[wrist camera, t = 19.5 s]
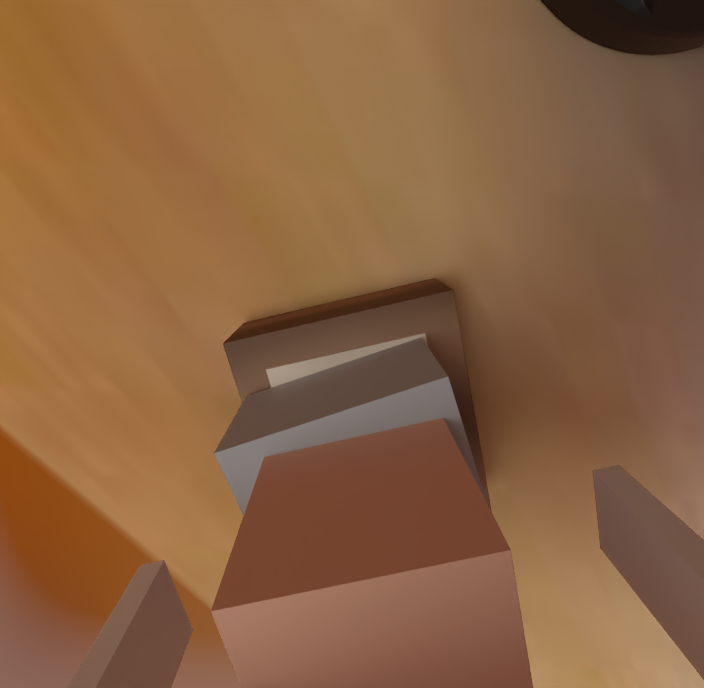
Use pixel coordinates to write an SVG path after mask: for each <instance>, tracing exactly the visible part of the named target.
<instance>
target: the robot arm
mask: <svg viewBox="0 0 704 688" xmlns="http://www.w3.org/2000/svg"><path fill="white" fill-rule="evenodd" d="M542 1H543V2H544V3H545V4H546V5H547V7H548V8H549V9H550V10H551V11H552V12H553V13H554V14H555V15H556V16H557V17H558V18H559V19H560V20H561V21H563V22H564V23H565V24H567V25H568V26H569V27H570V28H572V29H573V30H575V31H576V32H578V33H579V34H581V35H582V36H584V37H586V38H588V39H590V40H592V41H594V42H596V43H599V44H601V45H603V46H606V47H609V48H612V49H616V50H620V51H625V52H630V53H638V54H666V53H674V52H680V51H685V50H689V49H693V48H696V47H700V46H703V45H704V0H542ZM593 478H594V488H595V498H596V509H597V519H598V529H599V539H600V548H601V549H602V551H603V552H604V553H605V554H606V556H607V557H608V558H609V560H610V561H611V562H612V563H613V565H614V566H615V567H616V568H617V570H618V571H619V572H620V574H621V575H622V576H623V577H624V579H625V580H626V581H627V583H628V584H629V585H630V586H631V588H632V589H633V590H634V591H635V593H636V594H637V595H638V597H639V598H640V599H641V600H642V602H643V603H644V604H645V605H646V607H647V608H648V609H649V611H650V612H651V613H652V614H653V616H654V617H655V618H656V620H657V621H658V622H659V623H660V625H661V626H662V627H663V628H664V630H665V631H666V632H667V634H668V635H669V636H670V637H671V639H672V640H673V641H674V642H675V644H676V645H677V646H678V648H679V649H680V650H681V651H682V653H683V654H684V655H685V657H686V658H687V659H688V660H689V662H690V663H691V664H692V665H693V667H694V668H695V669H696V671H697V672H698V673H699V674H700V676H701V677H702V678H703V679H704V540H703V539H702V538H701V537H700V536H698V535H697V534H696V533H695V532H694V531H693V530H692V529H691V528H689V527H688V526H687V525H686V524H685V523H684V522H683V521H682V520H680V519H679V518H678V517H677V516H676V515H675V514H674V513H673V512H671V511H670V510H669V509H668V508H667V507H666V506H665V505H664V504H662V503H661V502H660V501H659V500H658V499H657V498H656V497H654V496H653V495H652V494H651V493H650V492H649V491H648V490H647V489H645V488H644V487H643V486H642V485H641V484H640V483H639V482H638V481H636V480H635V479H634V478H633V477H632V476H631V475H630V474H629V473H627V472H626V471H625V470H624V469H623V468H622V467H621V466H619V465H617V466H612V467H608V468H603V469H598V470H593ZM192 631H193V629H192V626H191V624H190V621H189V619H188V617H187V614H186V612H185V609H184V607H183V605H182V602H181V600H180V597H179V595H178V593H177V590H176V588H175V586H174V583H173V581H172V578H171V576H170V573H169V571H168V569H167V566H166V564H165V561H164V560H163V561H158V562H153V563H148V564H144V565H140V566H139V568H138V570H137V571H136V573H135V575H134V576H133V578H132V580H131V582H130V583H129V585H128V586H127V588H126V590H125V591H124V593H123V595H122V596H121V598H120V600H119V602H118V603H117V605H116V606H115V608H114V610H113V611H112V613H111V615H110V616H109V618H108V620H107V621H106V623H105V625H104V627H103V628H102V630H101V631H100V633H99V635H98V637H97V638H96V640H95V641H94V643H93V645H92V646H91V648H90V650H89V651H88V653H87V655H86V656H85V658H84V660H83V661H82V663H81V665H80V666H79V668H78V670H77V671H76V673H75V675H74V676H73V678H72V680H71V681H70V683H69V685H68V687H67V688H171V687H172V684H173V681H174V679H175V676H176V673H177V671H178V668H179V665H180V663H181V660H182V657H183V655H184V652H185V649H186V646H187V644H188V641H189V639H190V636H191V633H192Z"/></svg>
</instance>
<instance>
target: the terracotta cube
mask: <svg viewBox="0 0 704 688" xmlns="http://www.w3.org/2000/svg"><path fill="white" fill-rule="evenodd" d="M211 612H212V615H213V618H214V620H215V623H216V625H217V628H218V630H219V633H220V635H221V638H222V641H223V643H224V646H225V648H226V650H227V653H228V656H229V658H230V661H231V663H232V666H233V668H234V671H235V673H236V676H237V678H238V681H239V684H240V686H241V688H533V684H532V678H531V672H530V665H529V659H528V653H527V647H526V641H525V635H524V629H523V622H522V616H521V610H520V604H519V598H518V592H517V586H516V579H515V573H514V567H513V561H512V555H511V550H510V548H509V546H508V544H507V542H506V540H505V538H504V536H503V534H502V532H501V530H500V528H499V526H498V524H497V522H496V520H495V518H494V516H493V514H492V512H491V510H490V508H489V507H488V505H487V503H486V501H485V499H484V497H483V495H482V493H481V491H480V489H479V487H478V485H477V483H476V481H475V479H474V477H473V475H472V473H471V471H470V469H469V467H468V465H467V463H466V461H465V460H464V458H463V456H462V454H461V452H460V450H459V448H458V446H457V444H456V442H455V440H454V438H453V436H452V434H451V432H450V430H449V428H448V426H447V424H446V422H445V420H444V418H440V419H435V420H431V421H426V422H422V423H417V424H412V425H408V426H403V427H399V428H394V429H390V430H385V431H380V432H376V433H371V434H367V435H362V436H358V437H353V438H349V439H344V440H339V441H335V442H330V443H326V444H321V445H317V446H312V447H308V448H303V449H298V450H294V451H289V452H285V453H280V454H276V455H271V456H267V457H264V459H263V461H262V464H261V467H260V470H259V473H258V476H257V479H256V482H255V485H254V488H253V491H252V493H251V496H250V499H249V502H248V505H247V508H246V511H245V514H244V517H243V520H242V523H241V525H240V528H239V531H238V534H237V537H236V540H235V543H234V546H233V549H232V552H231V555H230V557H229V560H228V563H227V566H226V569H225V572H224V575H223V578H222V581H221V584H220V587H219V589H218V592H217V595H216V598H215V601H214V604H213V607H212V610H211Z"/></svg>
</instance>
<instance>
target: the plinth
mask: <svg viewBox="0 0 704 688" xmlns="http://www.w3.org/2000/svg"><path fill="white" fill-rule="evenodd" d="M420 337H422V339H423V340H424V342H425V343H426V345H427V346H428V348H429V349H430V350H431V352H432V353H433V355H434V356H435V358H436V359H437V361H438V362H439V364H440V365H441V367H442V368H443V369H444V371H445V372H446V374H447V375H448V377H449V381H450V384H451V387H452V390H453V394H454V397H455V400H456V404H457V407H458V410H459V413H460V417H461V420H462V423H463V426H464V430H465V433H466V436H467V439H468V443H469V446H470V449H471V452H472V456H473V459H474V462H475V466H476V469H477V472H478V475H479V479H480V482H481V485H482V488H483V492H484V495H485V498H486V501H487V505H488V507H489V508H490V510H491V506H490V500H489V494H488V488H487V483H486V477H485V471H484V465H483V459H482V454H481V448H480V442H479V436H478V430H477V425H476V419H475V413H474V407H473V401H472V396H471V390H470V384H469V378H468V373H467V367H466V361H465V355H464V349H463V344H462V338H461V332H460V326H459V320H458V315H457V309H456V303H455V297H454V291H453V290H452V289H451V288H449V287H447V286H446V285H444V284H443V283H441V282H439V281H438V280H436V279H430V280H426V281H422V282H418V283H413V284H409V285H405V286H400V287H396V288H392V289H388V290H383V291H379V292H375V293H371V294H366V295H362V296H358V297H353V298H349V299H345V300H341V301H336V302H332V303H328V304H324V305H319V306H315V307H311V308H306V309H302V310H298V311H294V312H289V313H285V314H281V315H277V316H272V317H268V318H264V319H259V320H255V321H251V322H247V323H243V324H242V325H241V326H240V327H239V328H238V329H237V330H236V331H235V332H234V333H233V334H232V335H231V336H230V337H229V338H228V339H227V340H226V341H225V342H224V343H223V345H224V348H225V351H226V354H227V358H228V361H229V364H230V367H231V370H232V373H233V376H234V379H235V382H236V385H237V389H238V392H239V395H240V398H241V401H242V403H243V401H244V399H245V398H246V396H248V395H251V394H254V393H257V392H260V391H263V390H266V389H269V388H272V387H275V386H278V385H281V384H284V383H287V382H290V381H293V380H296V379H298V378H301V377H304V376H307V375H310V374H313V373H316V372H319V371H322V370H325V369H328V368H331V367H334V366H337V365H340V364H343V363H346V362H349V361H352V360H355V359H358V358H361V357H364V356H367V355H370V354H373V353H376V352H379V351H381V350H384V349H387V348H390V347H393V346H396V345H399V344H402V343H405V342H408V341H411V340H414V339H417V338H420Z"/></svg>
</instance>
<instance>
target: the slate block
mask: <svg viewBox="0 0 704 688" xmlns="http://www.w3.org/2000/svg"><path fill="white" fill-rule="evenodd" d="M440 418H444V420H445V422H446V424H447V426H448V428H449V430H450V432H451V434H452V436H453V438H454V440H455V442H456V444H457V446H458V448H459V450H460V452H461V454H462V456H463V458H464V460H465V461H466V463H467V465H468V467H469V469H470V471H471V473H472V475H473V477H474V479H475V481H476V483H477V485H478V487H479V489H480V491H481V493H482V495H483V497H484V499H485V501H486V498H485V495H484V492H483V488H482V485H481V482H480V479H479V475H478V472H477V469H476V466H475V462H474V459H473V456H472V452H471V449H470V446H469V443H468V439H467V436H466V433H465V430H464V426H463V423H462V420H461V417H460V413H459V410H458V407H457V404H456V400H455V397H454V394H453V390H452V387H451V384H450V381H449V377H448V375H447V374H446V372H445V371H444V369H443V368H442V367H441V365H440V364H439V362H438V361H437V359H436V358H435V356H434V355H433V353H432V352H431V350H430V349H429V348H428V346H427V345H426V343H425V342H424V340H423V339H422V337H420V338H417V339H414V340H411V341H408V342H405V343H402V344H399V345H396V346H393V347H390V348H387V349H384V350H381V351H379V352H376V353H373V354H370V355H367V356H364V357H361V358H358V359H355V360H352V361H349V362H346V363H343V364H340V365H337V366H334V367H331V368H328V369H325V370H322V371H319V372H316V373H313V374H310V375H307V376H304V377H301V378H298V379H296V380H293V381H290V382H287V383H284V384H281V385H278V386H275V387H272V388H269V389H266V390H263V391H260V392H257V393H254V394H251V395H248V396H246V398H245V399H244V401H243V403H242V405H241V407H240V408H239V410H238V412H237V414H236V415H235V417H234V419H233V421H232V422H231V424H230V426H229V428H228V429H227V431H226V433H225V435H224V436H223V438H222V440H221V442H220V444H219V445H218V447H217V449H216V451H215V452H214V455H215V457H216V459H217V461H218V463H219V465H220V467H221V469H222V471H223V473H224V476H225V478H226V480H227V482H228V484H229V486H230V488H231V490H232V492H233V494H234V496H235V498H236V500H237V503H238V505H239V507H240V509H241V511H242V513H243V515H244V514H245V511H246V508H247V505H248V502H249V499H250V496H251V493H252V491H253V488H254V485H255V482H256V479H257V476H258V473H259V470H260V467H261V464H262V461H263V459H264V457H267V456H271V455H276V454H280V453H285V452H289V451H294V450H298V449H303V448H308V447H312V446H317V445H321V444H326V443H330V442H335V441H339V440H344V439H349V438H353V437H358V436H362V435H367V434H371V433H376V432H380V431H385V430H390V429H394V428H399V427H403V426H408V425H412V424H417V423H422V422H426V421H431V420H435V419H440ZM486 503H487V501H486Z"/></svg>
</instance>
